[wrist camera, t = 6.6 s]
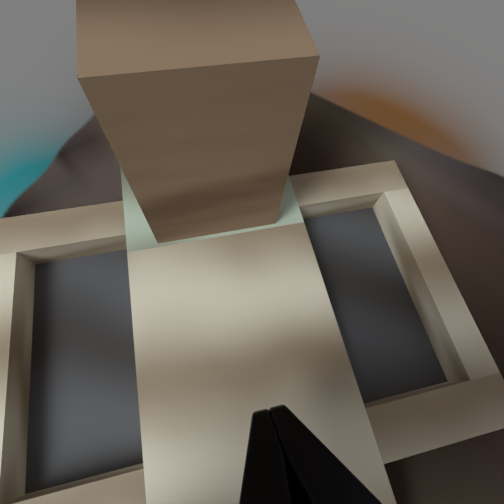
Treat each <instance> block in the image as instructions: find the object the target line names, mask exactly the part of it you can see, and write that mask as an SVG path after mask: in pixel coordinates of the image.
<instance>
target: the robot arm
mask: <svg viewBox="0 0 504 504" xmlns="http://www.w3.org/2000/svg"><path fill="white" fill-rule="evenodd" d="M239 504H382V503H381V502H380V501H379V500H378V499H377V498H376V497H375V496H374V495H373V494H372V493H371V492H370V491H369V490H368V489H367V488H366V487H365V485H364V484H363V483H362V482H361V481H360V480H359V479H358V478H357V477H356V476H355V475H354V474H353V473H352V472H351V471H350V470H349V469H348V468H347V467H346V466H345V465H344V464H343V463H342V462H341V461H340V460H339V459H338V458H337V457H336V456H335V455H334V454H333V453H332V452H331V451H330V450H329V449H328V448H327V447H326V446H325V445H324V444H323V443H322V442H321V441H320V440H319V439H318V438H317V437H316V436H315V435H314V434H313V433H312V432H311V431H310V430H309V429H308V428H307V427H306V426H305V425H304V424H303V423H302V422H301V421H300V420H299V419H298V418H297V416H296V415H295V414H294V413H293V412H292V411H291V410H290V409H289V408H288V407H287V406H285V405H283V404H282V405H278V406H274V407H271V408H270V409H269V410H268V409H262V410H258V411H255V412H253V414H252V418H251V425H250V432H249V439H248V446H247V453H246V459H245V466H244V473H243V480H242V487H241V494H240V500H239Z"/></svg>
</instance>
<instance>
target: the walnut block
mask: <svg viewBox="0 0 504 504" xmlns="http://www.w3.org/2000/svg"><path fill="white" fill-rule="evenodd" d="M76 3H77V4H76V11H77V78H78V80H79V82H80V84H81V86H82V88H83V91H84V92H85V95H86V97H87V99H88V101H89V103H90V105H91V107H92V109H93V111H94V113H95V115H96V117H97V119H98V121H99V123H100V126H101V128H102V130H103V132H104V134H105V136H106V138H107V140H108V142H109V144H110V146H111V148H112V150H113V152H114V154H115V156H116V158H117V160H118V163H119V165H120V167H121V169H122V171H123V173H124V175H125V177H126V179H127V181H128V183H129V185H130V187H131V189H132V191H133V193H134V195H135V198H136V200H137V202H138V204H139V206H140V208H141V210H142V212H143V214H144V216H145V218H146V220H147V222H148V224H149V226H150V228H151V230H152V232H153V235H154V237H155V239H156V241H157V243H158V244H159V243H165V242H170V241H176V240H182V239H188V238H194V237H200V236H206V235H211V234H217V233H223V232H229V231H235V230H241V229H247V228H253V227H258V226H264V225H270V224H275V223H276V219H277V216H278V212H279V208H280V204H281V200H282V197H283V193H284V189H285V185H286V182H287V178H288V174H289V170H290V167H291V163H292V159H293V155H294V152H295V148H296V144H297V140H298V137H299V133H300V129H301V125H302V122H303V118H304V114H305V110H306V107H307V103H308V99H309V95H310V91H311V87H312V84H313V80H314V76H315V73H316V69H317V65H318V61H319V57H320V54H319V52H318V50H317V48H316V46H315V43H314V41H313V39H312V37H311V35H310V33H309V30H308V28H307V26H306V24H305V22H304V19H303V17H302V15H301V13H300V11H299V8H298V6H297V4H296V2H295V0H76Z"/></svg>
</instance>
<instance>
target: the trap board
mask: <svg viewBox="0 0 504 504" xmlns="http://www.w3.org/2000/svg"><path fill="white" fill-rule="evenodd" d="M121 180H122V193H123V201H117V202H110V203H103V204H97V205H90V206H83V207H76V208H70V209H63V210H56V211H50V212H43V213H36V214H29V215H23V216H16V217H9V218H2V219H0V504H239V500H240V494H241V487H242V480H243V473H244V466H245V459H246V453H247V446H248V439H249V432H250V425H251V418H252V414H253V412H255V411H258V410H262V409H268V410H269V409H270V408H271V407H274V406H278V405H282V404H283V405H285V406H287V407H288V408H289V409H290V410H291V411H292V412H293V413H294V414H295V415H296V416H297V418H298V419H299V420H300V421H301V422H302V423H303V424H304V425H305V426H306V427H307V428H308V429H309V430H310V431H311V432H312V433H313V434H314V435H315V436H316V437H317V438H318V439H319V440H320V441H321V442H322V443H323V444H324V445H325V446H326V447H327V448H328V449H329V450H330V451H331V452H332V453H333V454H334V455H335V456H336V457H337V458H338V459H339V460H340V461H341V462H342V463H343V464H344V465H345V466H346V467H347V468H348V469H349V470H350V471H351V472H352V473H353V474H354V475H355V476H356V477H357V478H358V479H359V480H360V481H361V482H362V483H363V484H364V485H365V487H366V488H367V489H368V490H369V491H370V492H371V493H372V494H373V495H374V496H375V497H376V498H377V499H378V500H379V501H380V502H381V503H382V504H396V500H395V497H394V494H393V491H392V488H391V485H390V482H389V479H388V476H387V473H386V470H385V467H384V464H386V463H389V462H393V461H396V460H399V459H403V458H406V457H409V456H413V455H416V454H419V453H423V452H426V451H429V450H433V449H436V448H439V447H443V446H446V445H449V444H453V443H456V442H459V441H463V440H466V439H469V438H473V437H476V436H479V435H483V434H486V433H489V432H493V431H496V430H500V429H503V428H504V379H503V377H502V375H501V373H500V371H499V369H498V367H497V365H496V363H495V361H494V359H493V357H492V355H491V353H490V351H489V349H488V347H487V345H486V343H485V341H484V339H483V337H482V335H481V333H480V331H479V329H478V327H477V325H476V323H475V321H474V319H473V317H472V315H471V313H470V311H469V309H468V307H467V305H466V303H465V301H464V299H463V297H462V295H461V293H460V291H459V289H458V287H457V285H456V283H455V281H454V279H453V277H452V275H451V273H450V271H449V269H448V267H447V265H446V263H445V261H444V259H443V257H442V255H441V253H440V251H439V249H438V247H437V245H436V243H435V241H434V239H433V237H432V235H431V233H430V231H429V229H428V227H427V225H426V223H425V221H424V219H423V217H422V215H421V213H420V211H419V209H418V207H417V205H416V203H415V201H414V199H413V197H412V195H411V193H410V191H409V189H408V187H407V185H406V183H405V181H404V179H403V177H402V175H401V173H400V171H399V169H398V167H397V165H396V163H395V161H394V160H393V161H386V162H380V163H373V164H366V165H359V166H353V167H346V168H339V169H332V170H326V171H319V172H312V173H305V174H299V175H292V176H289V175H288V178H287V182H286V185H285V189H284V193H283V197H282V200H281V204H280V208H279V212H278V216H277V219H276V223H275V224H270V225H264V226H258V227H253V228H247V229H241V230H235V231H229V232H223V233H217V234H211V235H206V236H200V237H194V238H188V239H182V240H176V241H170V242H165V243H159V244H158V243H157V241H156V239H155V237H154V235H153V232H152V230H151V228H150V226H149V224H148V222H147V220H146V218H145V216H144V214H143V212H142V210H141V208H140V206H139V204H138V202H137V200H136V198H135V195H134V193H133V191H132V189H131V187H130V185H129V183H128V181H127V179H126V177H125V175H124V173H123V171H122V169H121Z"/></svg>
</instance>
